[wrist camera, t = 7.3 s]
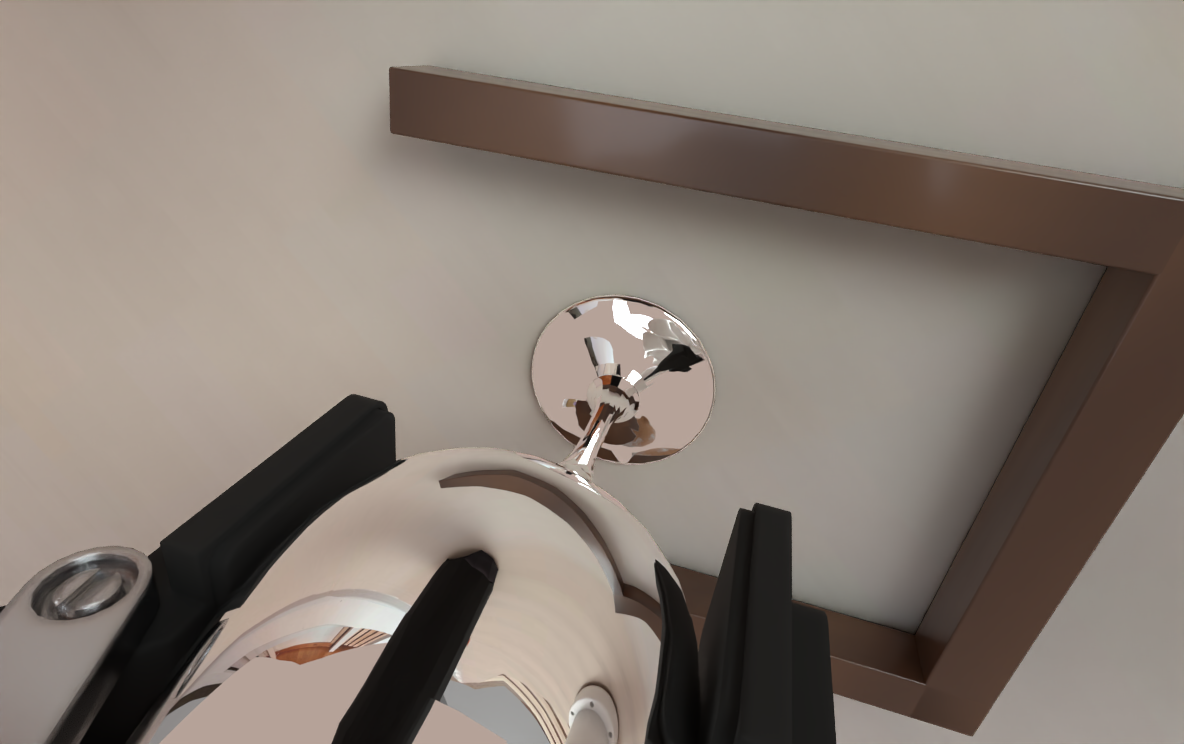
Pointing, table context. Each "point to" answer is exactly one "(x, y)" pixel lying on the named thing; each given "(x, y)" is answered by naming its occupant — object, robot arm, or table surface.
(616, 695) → the wineglass
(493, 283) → the table surface
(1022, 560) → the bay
